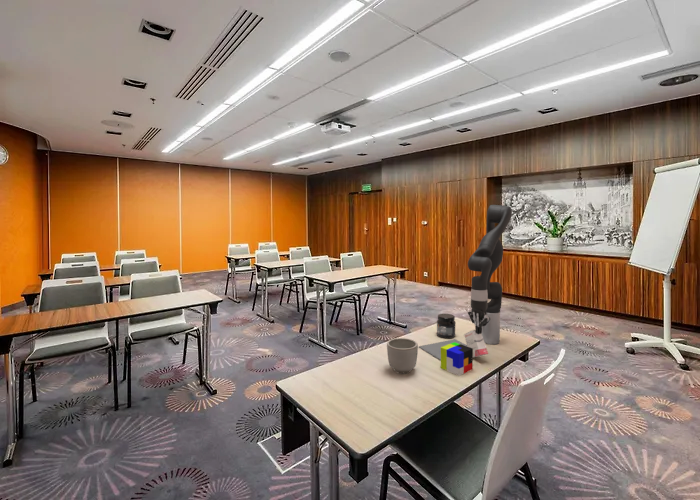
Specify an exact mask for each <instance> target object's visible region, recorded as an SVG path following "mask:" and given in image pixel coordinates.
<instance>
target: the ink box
mask: <svg viewBox="0 0 700 500" xmlns="http://www.w3.org/2000/svg"><path fill="white" fill-rule="evenodd" d="M463 336H464V340H465V344H466V345H467V346H468V347H470V348H473V358H480V357H482V356H486V355H488V354H489V351H488V349H487V346H486V343H485V342H484V339H483V336H482V333H481V334H477V333H476V332H475V329H473V330H469V331H468V332H465V333H464V334H463Z"/></svg>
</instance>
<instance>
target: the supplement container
mask: <svg viewBox="0 0 700 500" xmlns="http://www.w3.org/2000/svg"><path fill="white" fill-rule="evenodd" d="M456 323H457V322H456V317H455V315H454V314H451V313H439V314H437V320H436V335H437V336H438V337H439V338H442V339H452V338H453V339H454V338H455V336H456Z"/></svg>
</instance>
